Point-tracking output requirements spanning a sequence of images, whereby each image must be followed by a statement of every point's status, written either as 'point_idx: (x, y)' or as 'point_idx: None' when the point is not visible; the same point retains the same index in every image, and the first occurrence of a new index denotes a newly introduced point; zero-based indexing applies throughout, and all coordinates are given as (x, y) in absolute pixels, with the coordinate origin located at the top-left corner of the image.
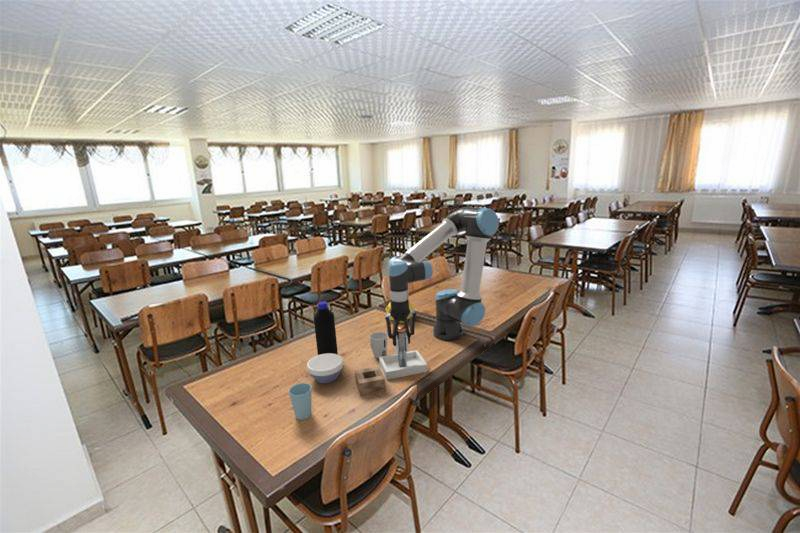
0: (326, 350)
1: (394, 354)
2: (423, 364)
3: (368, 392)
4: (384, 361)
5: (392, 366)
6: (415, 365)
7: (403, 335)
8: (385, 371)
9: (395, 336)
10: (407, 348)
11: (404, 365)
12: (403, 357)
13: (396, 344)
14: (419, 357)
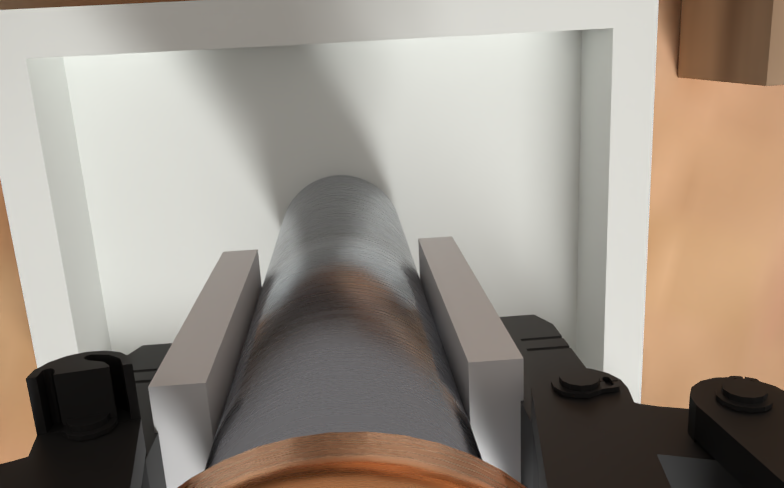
0: None
1: None
2: (33, 30)
3: None
4: None
5: (474, 253)
6: (170, 38)
7: (287, 404)
8: (651, 26)
9: (572, 417)
10: (230, 272)
11: (325, 178)
12: (334, 205)
13: (489, 311)
14: (61, 267)
